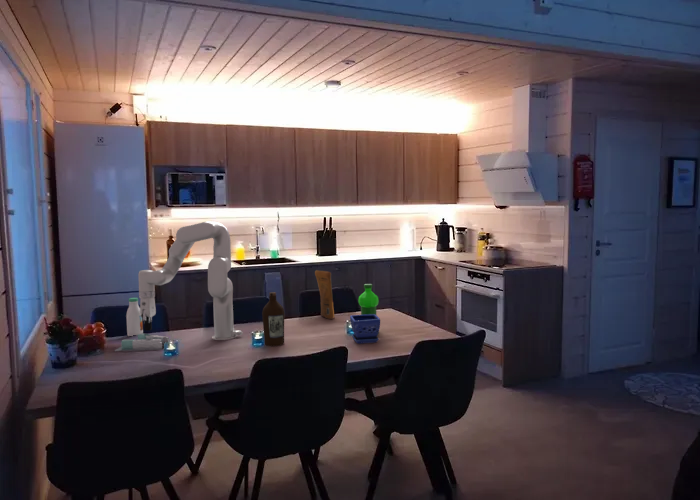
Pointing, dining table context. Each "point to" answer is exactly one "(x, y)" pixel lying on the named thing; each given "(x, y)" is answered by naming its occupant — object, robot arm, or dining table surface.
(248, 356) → the dining table surface
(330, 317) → the pancake mix bag
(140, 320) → the milk bottle
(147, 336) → the toothpaste tube
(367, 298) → the plastic bottle
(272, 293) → the olive oil
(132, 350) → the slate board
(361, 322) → the flower pot
